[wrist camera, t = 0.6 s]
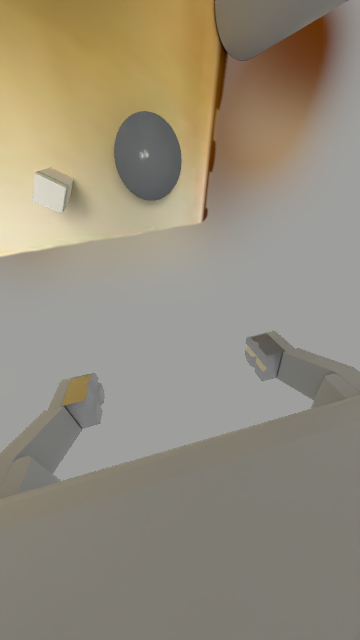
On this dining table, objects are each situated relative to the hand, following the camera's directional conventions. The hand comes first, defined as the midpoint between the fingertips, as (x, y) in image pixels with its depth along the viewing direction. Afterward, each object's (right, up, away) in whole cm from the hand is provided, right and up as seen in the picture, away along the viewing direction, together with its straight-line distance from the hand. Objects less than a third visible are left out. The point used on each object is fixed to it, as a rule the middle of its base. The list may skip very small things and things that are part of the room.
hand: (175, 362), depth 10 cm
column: (-25, +31, +30) cm, 50 cm away
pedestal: (-8, +38, +31) cm, 50 cm away
